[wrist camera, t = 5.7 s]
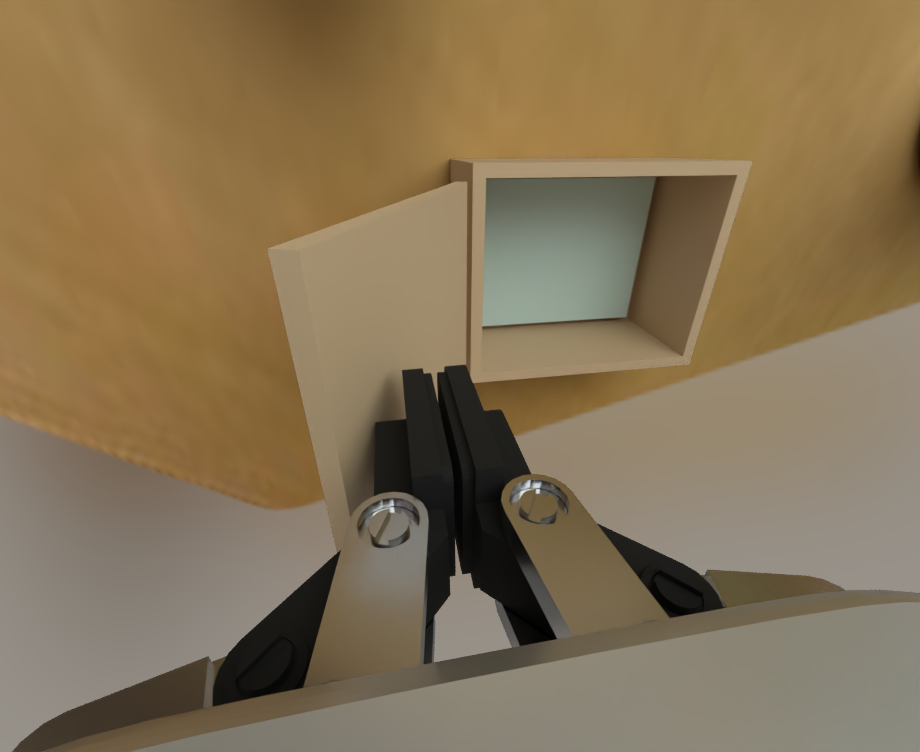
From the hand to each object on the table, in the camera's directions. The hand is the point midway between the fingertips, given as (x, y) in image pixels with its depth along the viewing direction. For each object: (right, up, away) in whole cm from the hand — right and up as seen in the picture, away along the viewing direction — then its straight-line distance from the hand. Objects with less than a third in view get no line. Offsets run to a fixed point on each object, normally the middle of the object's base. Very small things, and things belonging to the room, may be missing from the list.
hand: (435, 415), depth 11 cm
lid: (0, +2, +3) cm, 4 cm away
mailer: (+7, +9, +16) cm, 20 cm away
